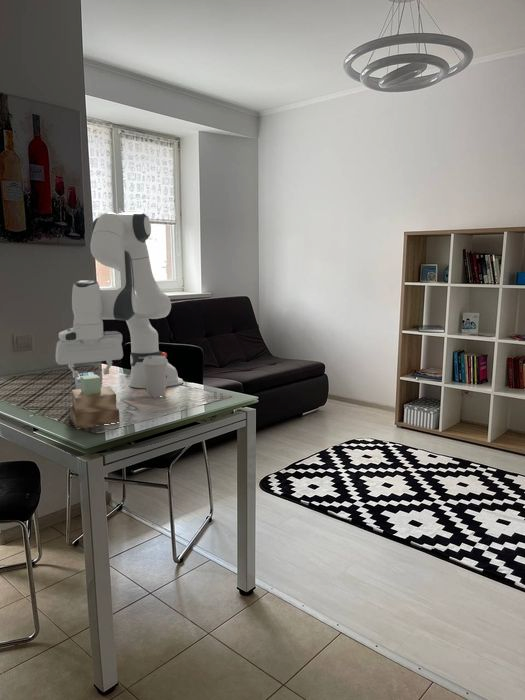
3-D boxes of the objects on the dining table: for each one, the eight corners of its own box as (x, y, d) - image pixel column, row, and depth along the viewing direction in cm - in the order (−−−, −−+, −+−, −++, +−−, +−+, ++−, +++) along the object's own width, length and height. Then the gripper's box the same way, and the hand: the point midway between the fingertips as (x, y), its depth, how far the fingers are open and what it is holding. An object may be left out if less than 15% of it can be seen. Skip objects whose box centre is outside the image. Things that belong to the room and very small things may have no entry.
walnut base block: (110, 414, 175) (110, 400, 174) (119, 424, 164) (119, 409, 163) (70, 419, 169) (69, 405, 168) (76, 430, 158) (75, 415, 157)
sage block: (96, 389, 168) (96, 374, 167) (101, 392, 164) (100, 377, 163) (81, 391, 165) (80, 376, 164) (85, 394, 161) (84, 379, 160)
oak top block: (110, 400, 173) (109, 386, 173) (116, 409, 163) (116, 394, 162) (72, 404, 168) (71, 389, 168) (76, 414, 158) (75, 398, 157)
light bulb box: (75, 401, 190) (73, 373, 188) (94, 399, 193) (93, 371, 191) (77, 409, 180) (75, 378, 178) (97, 407, 183) (96, 377, 181)
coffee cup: (147, 392, 204) (145, 355, 201) (171, 392, 203) (170, 355, 201) (140, 398, 194) (139, 359, 192) (166, 398, 194) (164, 359, 192)
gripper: (119, 329, 170) (121, 370, 172) (53, 333, 160) (56, 377, 162) (124, 331, 164) (126, 374, 167) (56, 336, 154) (59, 381, 157)
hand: (91, 375), depth 164 cm, fingers open, 8 cm apart
